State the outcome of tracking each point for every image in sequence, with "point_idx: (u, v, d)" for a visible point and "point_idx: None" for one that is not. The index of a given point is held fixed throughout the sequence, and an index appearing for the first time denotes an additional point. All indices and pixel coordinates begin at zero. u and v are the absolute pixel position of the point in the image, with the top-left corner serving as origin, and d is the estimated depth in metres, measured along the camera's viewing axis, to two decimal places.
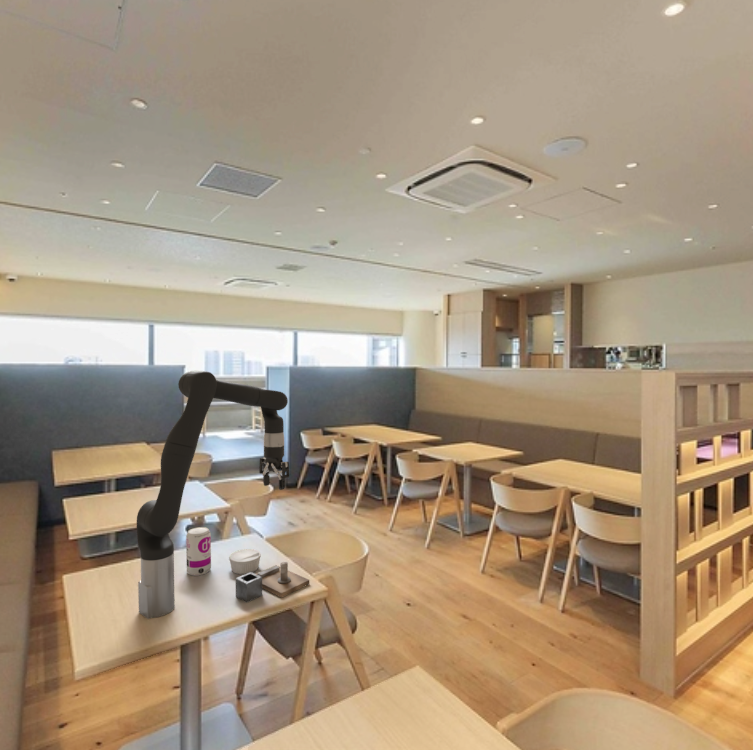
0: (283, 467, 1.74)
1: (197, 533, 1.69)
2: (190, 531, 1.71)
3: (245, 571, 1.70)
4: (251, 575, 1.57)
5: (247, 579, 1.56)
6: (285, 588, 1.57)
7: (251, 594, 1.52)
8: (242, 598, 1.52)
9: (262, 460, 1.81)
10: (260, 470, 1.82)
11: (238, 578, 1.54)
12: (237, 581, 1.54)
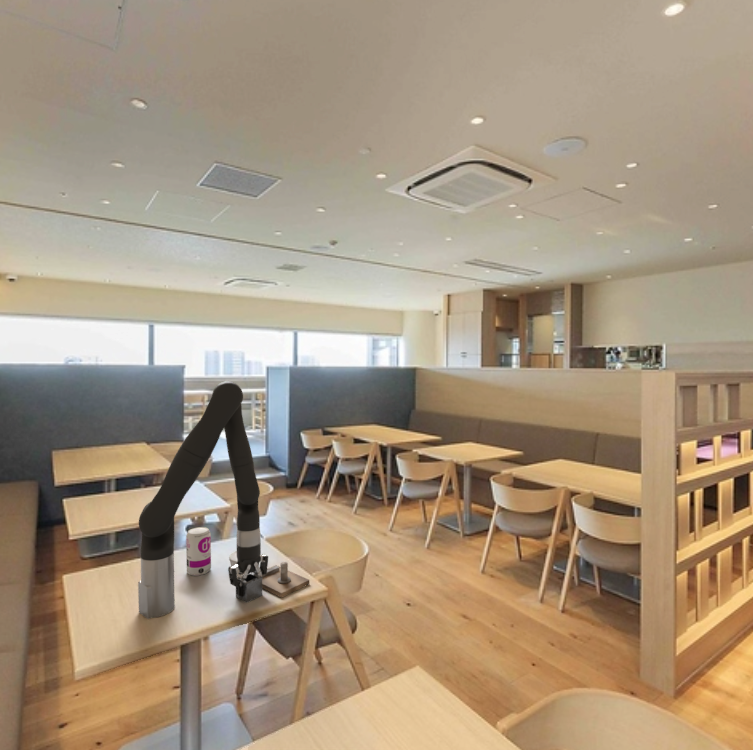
0: (266, 561, 1.58)
1: (197, 533, 1.69)
2: (190, 531, 1.72)
3: None
4: (251, 575, 1.57)
5: (247, 579, 1.56)
6: (285, 588, 1.57)
7: (251, 594, 1.52)
8: (242, 598, 1.52)
9: None
10: (236, 582, 1.50)
11: None
12: None
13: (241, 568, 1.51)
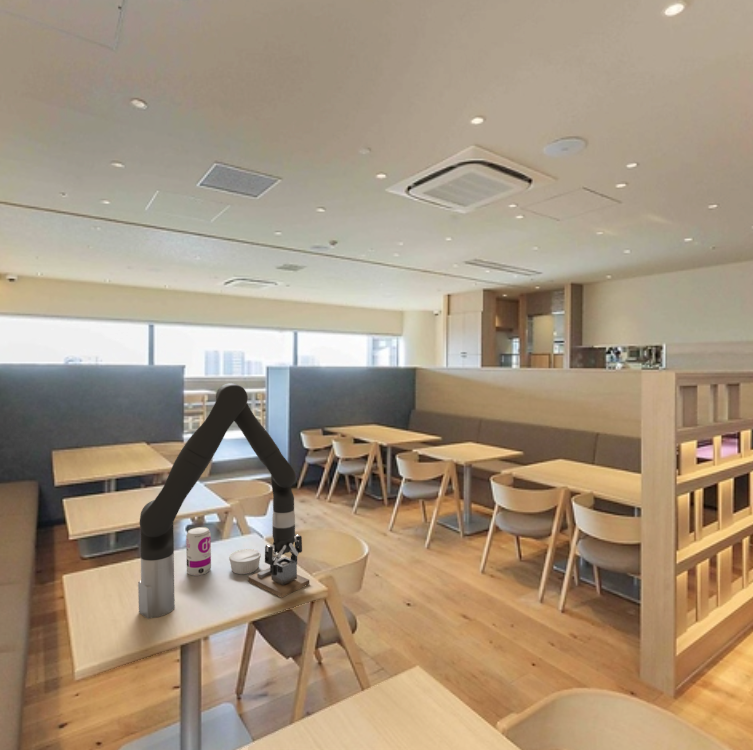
0: (300, 540, 1.66)
1: (197, 533, 1.69)
2: (190, 531, 1.72)
3: (245, 571, 1.70)
4: (286, 560, 1.64)
5: None
6: (285, 588, 1.57)
7: (287, 577, 1.59)
8: (278, 581, 1.59)
9: None
10: (270, 561, 1.56)
11: None
12: None
13: (277, 547, 1.58)
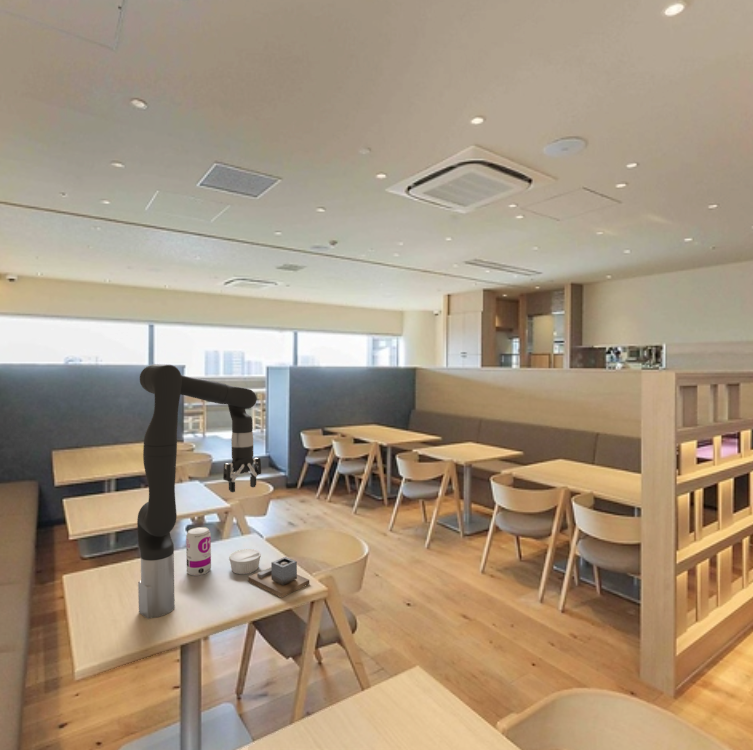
0: (259, 462, 1.75)
1: (197, 533, 1.69)
2: (190, 531, 1.71)
3: (245, 571, 1.70)
4: (286, 560, 1.64)
5: None
6: (285, 588, 1.57)
7: (287, 577, 1.59)
8: (278, 581, 1.59)
9: None
10: (228, 477, 1.65)
11: (274, 562, 1.61)
12: (273, 565, 1.61)
13: (235, 465, 1.67)
